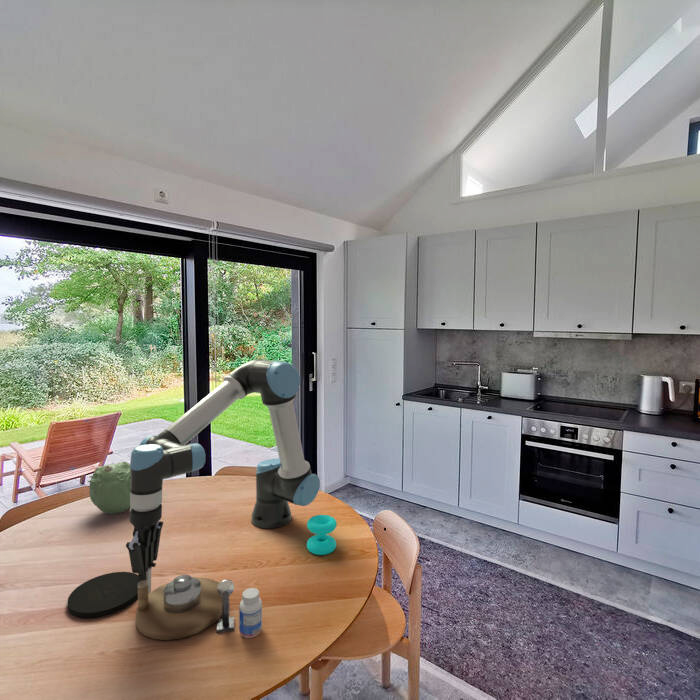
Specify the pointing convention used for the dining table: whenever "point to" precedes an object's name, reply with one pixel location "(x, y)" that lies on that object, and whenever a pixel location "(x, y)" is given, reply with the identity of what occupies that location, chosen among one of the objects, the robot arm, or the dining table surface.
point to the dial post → (225, 606)
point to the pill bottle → (250, 613)
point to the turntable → (175, 626)
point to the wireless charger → (103, 595)
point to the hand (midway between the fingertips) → (144, 592)
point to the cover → (182, 594)
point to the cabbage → (111, 488)
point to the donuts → (321, 534)
